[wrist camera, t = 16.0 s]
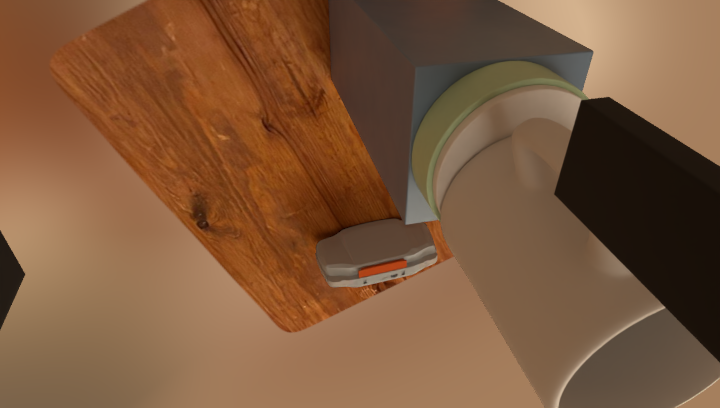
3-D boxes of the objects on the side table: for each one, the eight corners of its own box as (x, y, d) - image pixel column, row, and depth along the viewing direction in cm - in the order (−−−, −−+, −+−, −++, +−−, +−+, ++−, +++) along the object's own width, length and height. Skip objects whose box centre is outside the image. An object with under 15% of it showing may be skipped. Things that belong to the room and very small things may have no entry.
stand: (327, -29, 43) (415, 66, 24) (434, -34, 44) (594, 50, 26) (331, 80, 48) (404, 225, 30) (425, 71, 50) (550, 203, 32)
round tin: (417, 68, 24) (440, 93, 21) (592, 52, 26) (632, 74, 23) (406, 224, 30) (423, 257, 27) (549, 202, 31) (577, 231, 29)
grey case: (314, 250, 61) (325, 296, 55) (310, 233, 59) (322, 278, 53) (422, 227, 63) (445, 268, 57) (422, 209, 61) (446, 250, 55)
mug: (590, 219, 29) (751, 378, 20) (458, 279, 29) (561, 461, 20) (573, 34, 21) (817, 159, 13) (397, 117, 22) (517, 295, 13)
